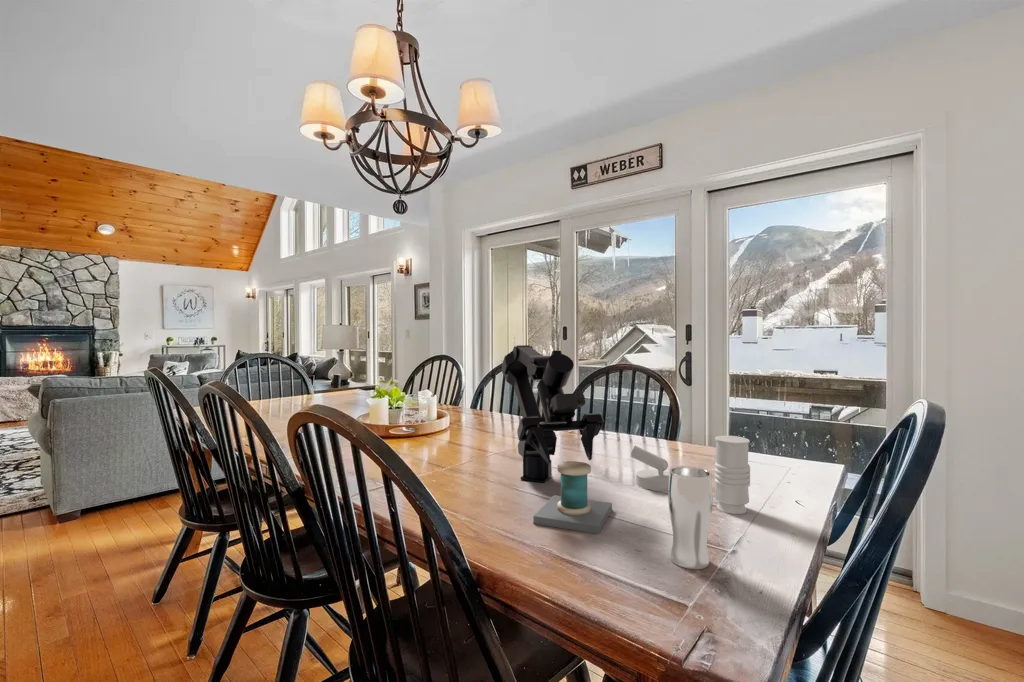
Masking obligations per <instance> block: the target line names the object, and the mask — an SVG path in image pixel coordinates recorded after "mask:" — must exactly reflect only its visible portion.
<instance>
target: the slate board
mask: <svg viewBox="0 0 1024 682" xmlns="http://www.w3.org/2000/svg"><path fill="white" fill-rule="evenodd" d="M559 501H561V495H555V494H554V495H552V496H551V497H550V499H548V501H546V502H545V504H544V505H542V507H541V508H539V510H538V511H537V512H536V513H534V514H533V517H532V518H533V519H532V520H533V524H536V525H541V526H547V527H553V528H559V529H565V530H571V531H577V532H585V533H590V534H597V535H598V534H599V533H600V531H601V530H602V528H603V526H604V525H605V523H606V521H607V519H608V518H609V516H610V515H611V513H612V511H613V502H607V501H606V502H605V501H602V500H601V501H600V500H593V499H587V502H589V503H590V504H591V511H590V512H589V513H588V514H585V515H567V514H563V513H561V512H559V511H558V509H557V503H558V502H559Z"/></svg>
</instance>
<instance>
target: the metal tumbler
mask: <svg viewBox="0 0 1024 682" xmlns="http://www.w3.org/2000/svg"><path fill="white" fill-rule="evenodd" d="M669 473H670V475H669V485H668V491H667V501H668V502H667V503H668V510H669V516H670V517H669V518H670V521H671V528H672V529H671V530H672V546H671V549H670V550H671V551H670V560H671V562H673V564H675V565H676V566H678V567H681V568H684V569H688V570H703V569H706V568H708V566H709V565H710V558H709V552H708V542H707V541H708V533H709V528H710V524H711V519H712V512H713V500H714V499H713V498H714V497H713V496H714V495H713V491H714V490H713V482H712V481H713V480H712V473H711V472H710V470H707V469H706V468H701V467H697V466H691V465H690V466H689V465H688V466H687V465H685V466H684V465H681V466H674V467H670V469H669Z"/></svg>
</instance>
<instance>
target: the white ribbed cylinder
mask: <svg viewBox="0 0 1024 682" xmlns="http://www.w3.org/2000/svg"><path fill="white" fill-rule="evenodd" d="M714 440H715V441H716V442H715V443H716V445H715V448H716V449H715V453H716V454H715V457H716V458H715V462H714V480H713V482H714V483H715V488H714V499H715V500H716V501H718V503H717V505H716V509H718V510H719V511H721V512H723V513H727V514H732V515H733V514H734V515H742V514H745V513H747V511H748V510H747V508H746V506H745V505H747V504H748V503H750V493H749V487H751V465H750V464H749V444H750V443H751V442H750V441H751V440H750V439H748V438H746V437H742V436H738V435H716V436H715V437H714Z"/></svg>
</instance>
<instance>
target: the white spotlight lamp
mask: <svg viewBox="0 0 1024 682" xmlns="http://www.w3.org/2000/svg"><path fill="white" fill-rule="evenodd" d="M630 457H631V458H633V459H635V460H636V461H639V462H641V463H643V464H645V465H647V466H649V467H651V468H654V469H641V470H638V471H636V473H635V485H636V484H637V485H638V486H637V485H636V486H637V487H639V488H641V487H642V488H641V489H644V488H645V489H644V490H648V489H650V490H649V491H657V490H661V491H667V489H668V485H669V475H670V472H667V470H668V468H669V462H668V461H667V460H666V459H665V458H664V457H661V456H659V455H657V454H655V453H652V452H651V451H648V450H646V449H643V448H642V447H639V446H638V445H636V444H635V445H634V446H633V448H632V450H631V453H630Z"/></svg>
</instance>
